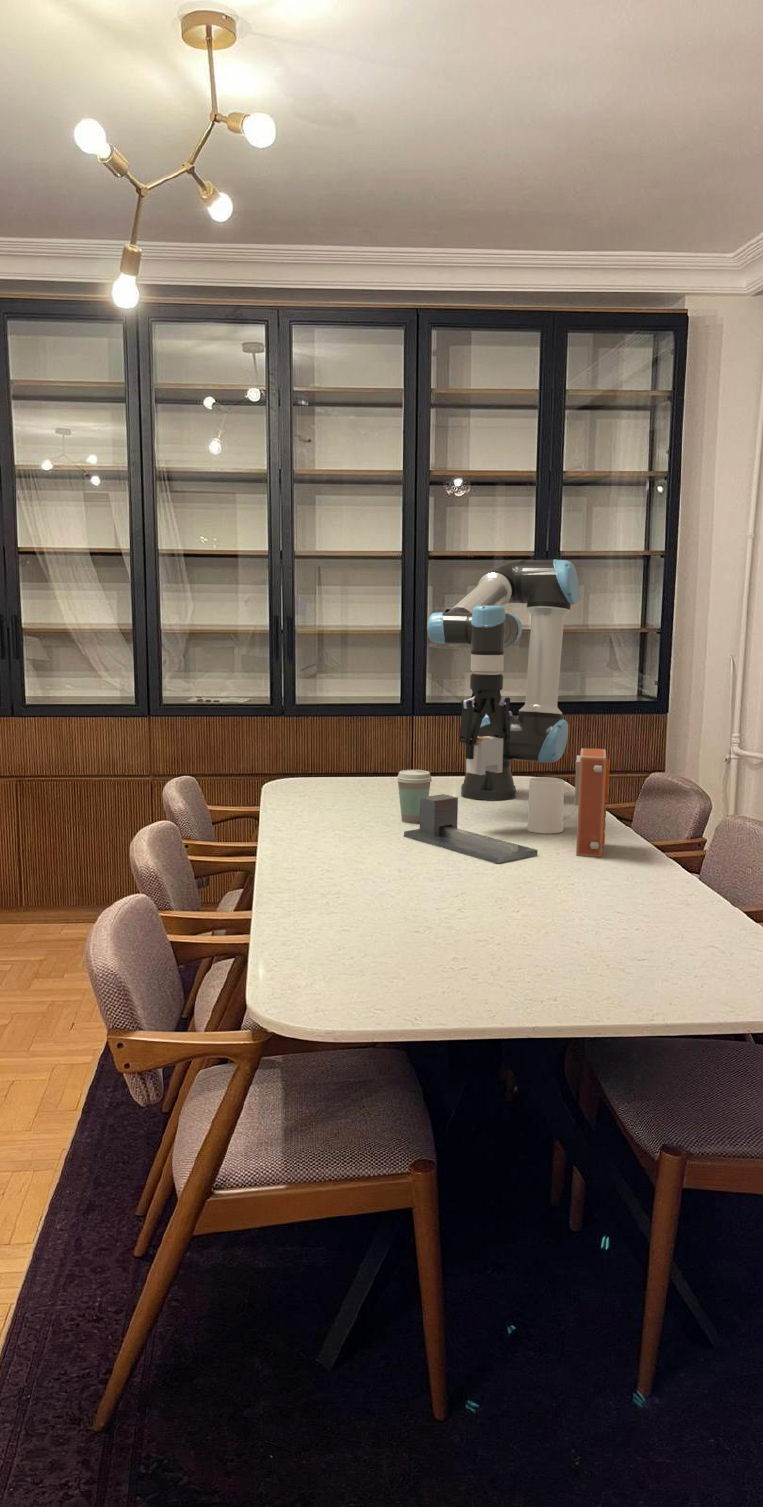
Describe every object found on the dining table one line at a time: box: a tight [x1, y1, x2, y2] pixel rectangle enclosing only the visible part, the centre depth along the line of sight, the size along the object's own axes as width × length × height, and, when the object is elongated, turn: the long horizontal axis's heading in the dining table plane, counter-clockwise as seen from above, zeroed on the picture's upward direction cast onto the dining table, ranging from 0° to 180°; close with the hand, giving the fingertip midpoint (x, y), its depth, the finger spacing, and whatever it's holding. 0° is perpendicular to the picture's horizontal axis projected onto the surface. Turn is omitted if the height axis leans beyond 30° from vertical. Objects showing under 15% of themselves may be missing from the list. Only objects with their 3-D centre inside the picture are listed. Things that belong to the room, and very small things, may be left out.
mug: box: [526, 776, 578, 835], centre depth 245 cm, size 12×8×12 cm
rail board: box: [403, 793, 538, 865], centre depth 228 cm, size 30×12×9 cm, turn 38°
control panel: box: [573, 747, 610, 858], centre depth 225 cm, size 21×7×15 cm
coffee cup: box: [396, 769, 433, 824], centre depth 253 cm, size 8×8×12 cm
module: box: [465, 736, 503, 775], centre depth 242 cm, size 5×7×8 cm
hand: (484, 771), depth 243 cm, fingers closed on module, 7 cm apart
